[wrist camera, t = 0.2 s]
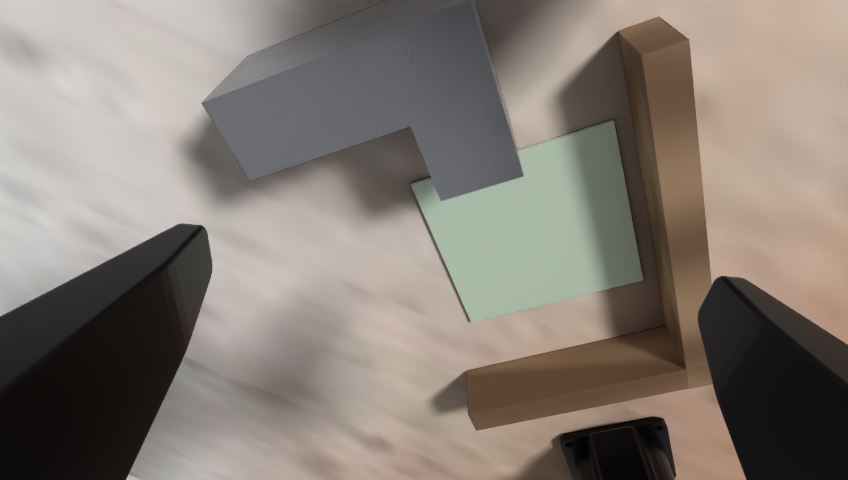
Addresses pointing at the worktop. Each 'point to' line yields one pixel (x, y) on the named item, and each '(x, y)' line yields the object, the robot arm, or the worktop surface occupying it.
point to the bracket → (375, 95)
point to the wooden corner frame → (674, 254)
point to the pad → (539, 227)
